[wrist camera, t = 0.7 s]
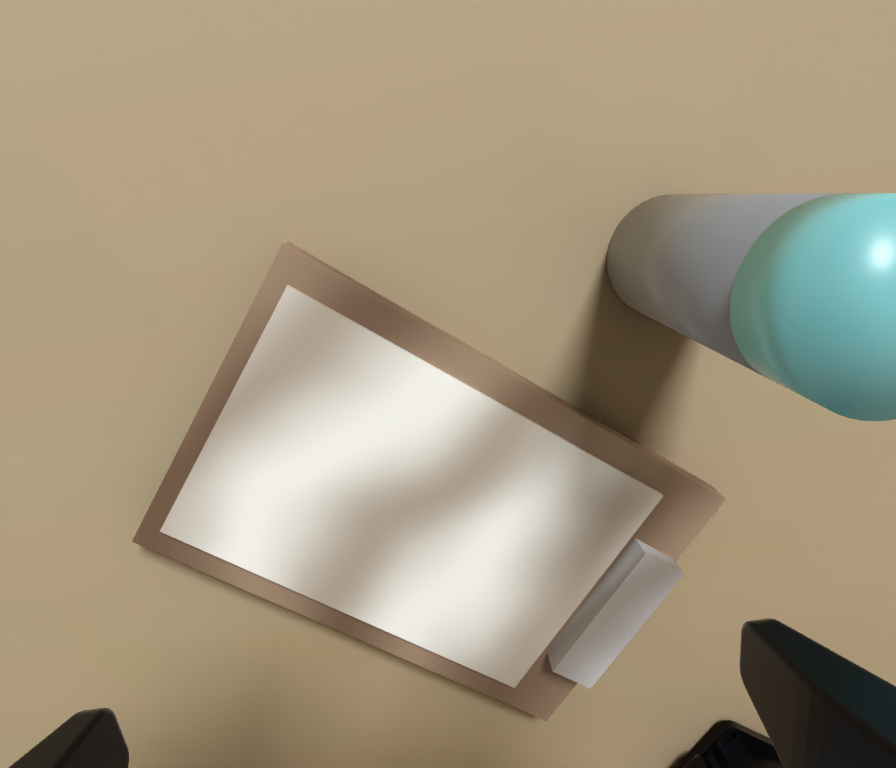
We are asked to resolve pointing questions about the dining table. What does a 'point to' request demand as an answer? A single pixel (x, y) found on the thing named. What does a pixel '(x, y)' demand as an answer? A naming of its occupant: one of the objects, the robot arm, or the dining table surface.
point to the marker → (774, 287)
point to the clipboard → (421, 495)
